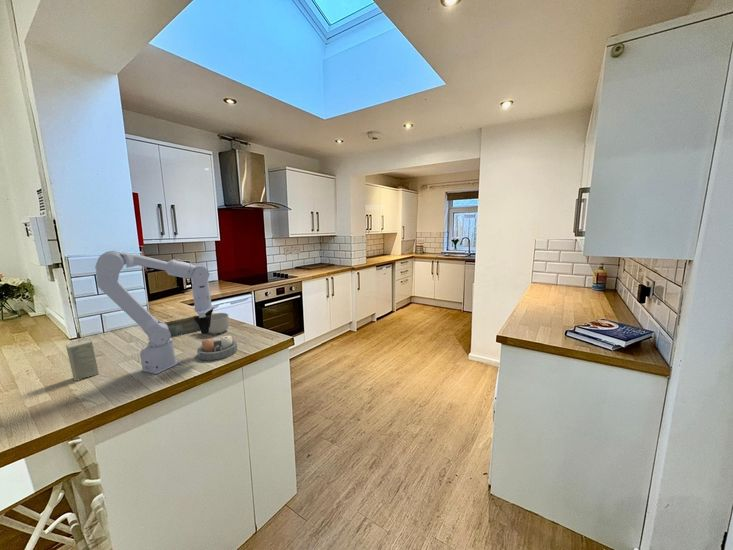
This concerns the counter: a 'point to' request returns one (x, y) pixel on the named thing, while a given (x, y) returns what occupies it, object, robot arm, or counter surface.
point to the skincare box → (82, 359)
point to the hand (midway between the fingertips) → (206, 330)
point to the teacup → (219, 323)
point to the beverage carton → (183, 326)
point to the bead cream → (226, 342)
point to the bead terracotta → (208, 345)
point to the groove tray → (217, 351)
